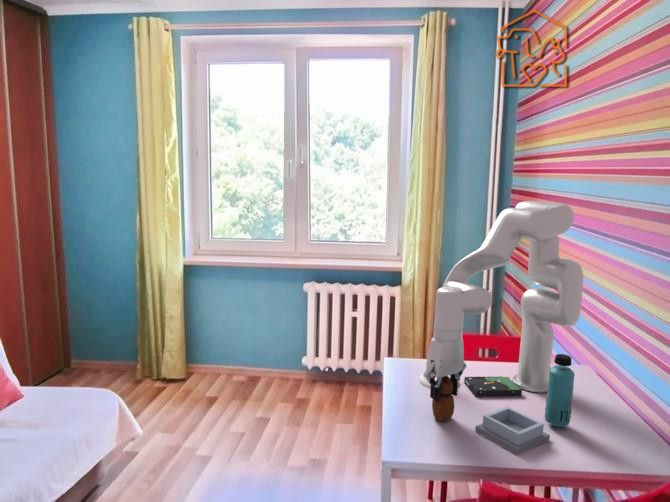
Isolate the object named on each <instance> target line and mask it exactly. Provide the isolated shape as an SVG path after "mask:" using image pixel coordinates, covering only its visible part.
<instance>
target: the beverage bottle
mask: <svg viewBox="0 0 670 502" xmlns="http://www.w3.org/2000/svg"><path fill="white" fill-rule="evenodd" d="M554 364H556V365H554V366H552V367H550V370H549V381H548V391H547V392H546V399H545V407H544V408H545V409H544V416H543V417H544V419H545V421H546V423H548V424H550V425H553V426H556V427H568V426H569V425H570V423H571V422H570V421H571V415H572V409H573V408H572V404H573V396H574V389H575V387H574V386H575V385H574V383H575V381H574V380H575V375H576V374H575V372H574V371H573V370H572V369H571V368H570V366H572V357H571V356H570V355H567V354H564V353H557V354H556V355H555V357H554Z"/></svg>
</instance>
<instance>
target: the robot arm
mask: <svg viewBox="0 0 670 502" xmlns="http://www.w3.org/2000/svg"><path fill="white" fill-rule="evenodd" d="M574 219H575V213H574V210H573V209H572V207H571V206H570V205H568V204H565V203H559V202H547V201H538V200H537V201H536V200H525V201H521V202H518V203H517V204H516V206H515V207H508V208H505V209H503V210H502V211H501V212H500V213H499V215H498V216H497V217H496V219H495V221H494V223H493V225H492V226H491V228H490V230H489V231H488V233H487V235H486V237H485V239H484V240H483V241H482V244H481V245H480V247H479V248H478V249H477V250H475V251H473V252H471V253H469V254H468V255H467V256H465V257H463V258H462V259H461V260H459V261H458V262H457V263H455V264H454V266H453V267H452V269H451V270H450V271H449V272H448V273H449V274H448V275H447V276H446V278H445V280H444V282H443V284H442V287H439V288H438V289H437V290H436V294H435V295H436V296H435V305H434V307H435V308H434V323H433V324H434V325H433V337H432V338H430V343H429V346H428V350H427V356H426V357H427V358H426V365H425V366H426V367H425V371H424V373H423V374H424V375H423V376H424V378H425V379H426V380H427V381H428V382H429V384H431V388H430V391H429V392H430V393H429V398H431V399H432V400H433V399H434V400H436V401H440V394H441V387H439V385H440V382H441V379H442V377H444V376H448V375H449V376H450V378H449V380H451V381H452V383H453V391H452V393H451V394H452V396H453V397H456V396H458V391H459V389H458V388H459V387H458V382H459V383H460V380H461V376H462V375H463V372H464V371H465V369H466V368H467V364H466V362H465V361H464V359H465V355H464V352H465V349H464V348H465V347H464V339H463V338H464V337H463V331H464V317H465V315H481V314H483V313H485V312H487V311H488V310H489V309H490V308H491V306H492V303H493V297H492V295H491V293H490V292H489V291H488V290H487V289H486V288H485V287H482V286H478V285H475V284H472V283H468V281H469V280H470V279H471V278H472V277H473V276H474V275H476V274H478V273H481V272H484V271H488V270H492V269H495V268H500V267H503V266H505V265H506V264H508V263H509V261H510V259H511V257H512V256H513V253H514V251H515V250H516V248H517V246H518V245H519V243H520V241H521V240H527V241H529V247H528V249H529V250H528V266H527V267H528V268H527V269H528V270H527V275H528V276H527V277H528V280H529V281H530V282H531V283H532V284H534V285H538V286H542V287H544V289H543V288H537V287H535V288H528V289H527V290H525V291H524V292H523V294H522V296H521V298H520V309H521V310H520V311H521V317H522V318H521V320H522V321H521V323H522V324H521V334H520V335H521V336H520V344H519V345H520V347H519V357H518V367H517V368H518V369H517V374H514V375H513V376H512V378H511V380H512V381H513V382H514V383H516V384H517V385H518V386H519V387H520V388H521V389H522V390H525V391H528V392H531V393H541V394H542V393H547V391H548V381H549V370H550V368H551V364H552V356H553V355H552V354H553V346H554V338H555V336H554V335H555V334H554V330H553V329H554V328H553V326H552V324H553V325H557V326H561V327H567V328H568V327H573V326H574V325H576V324H577V323H578V321H579V319H580V316H581V311H582V310H581V309H582V298H583V289H584V288H583V287H584V271H583V268H582V266H581V264H580V263H578V262H577V261H575V260H571V259H569V258H568V259H567V258H561V256H560V238H559V236H560V235H563V234H565V233H566V232H567V231H569V230H570V228H571V227H572V225H573V224H574V221H575V220H574ZM545 287H546V288H549V289H554V290H558V292H557V291H556V292H555V291H553V290H548V289H545ZM431 374H432V375H431ZM435 377H437V380H436V381H435Z"/></svg>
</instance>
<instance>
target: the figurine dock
mask: <svg viewBox="0 0 670 502" xmlns="http://www.w3.org/2000/svg"><path fill="white" fill-rule="evenodd" d="M544 427H545V424H544V422H543V423H542V422H541V421H539V420H537V419H534V418H532V417H531V416H529V415H526V414H525V413H523V412H520V411H518V410H517V409H514V408H512V407H510V406H505V407H503V408H500V409H497V410H494V411H492V412H488V413H485V414H484V415H483V417H482V423H480V424H477V425H475V429H474V430H475V433H477V434H480V435H481V436H483V437H485V438H486V439H487V440H490V441H492V442H493V443H495V444H497V445H499V446H501V447H502V448H504V449H506V450H508V451H509V452H511V453H512V454H514V455H516V456H519V455H521V454H523V453H525V452H527V451H530V450H531V449H533V448H536V447H538V446H540V445H543V444H544V443H547V442H549V441H550V438H551V437H550V434H549V433H547V432H545V431H544V429H545V428H544Z"/></svg>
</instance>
